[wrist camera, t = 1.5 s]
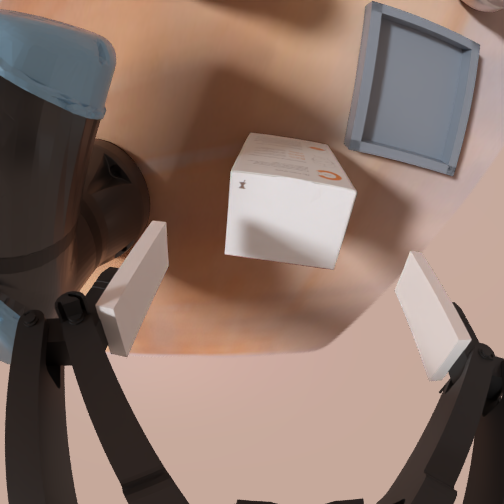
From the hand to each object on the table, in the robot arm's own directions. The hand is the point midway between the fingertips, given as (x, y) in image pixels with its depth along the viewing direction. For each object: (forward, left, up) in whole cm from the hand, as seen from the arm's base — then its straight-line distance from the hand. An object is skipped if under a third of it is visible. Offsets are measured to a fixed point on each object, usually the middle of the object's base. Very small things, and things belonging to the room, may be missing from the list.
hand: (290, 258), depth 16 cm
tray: (+11, +11, -18) cm, 23 cm away
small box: (0, 0, -18) cm, 18 cm away
